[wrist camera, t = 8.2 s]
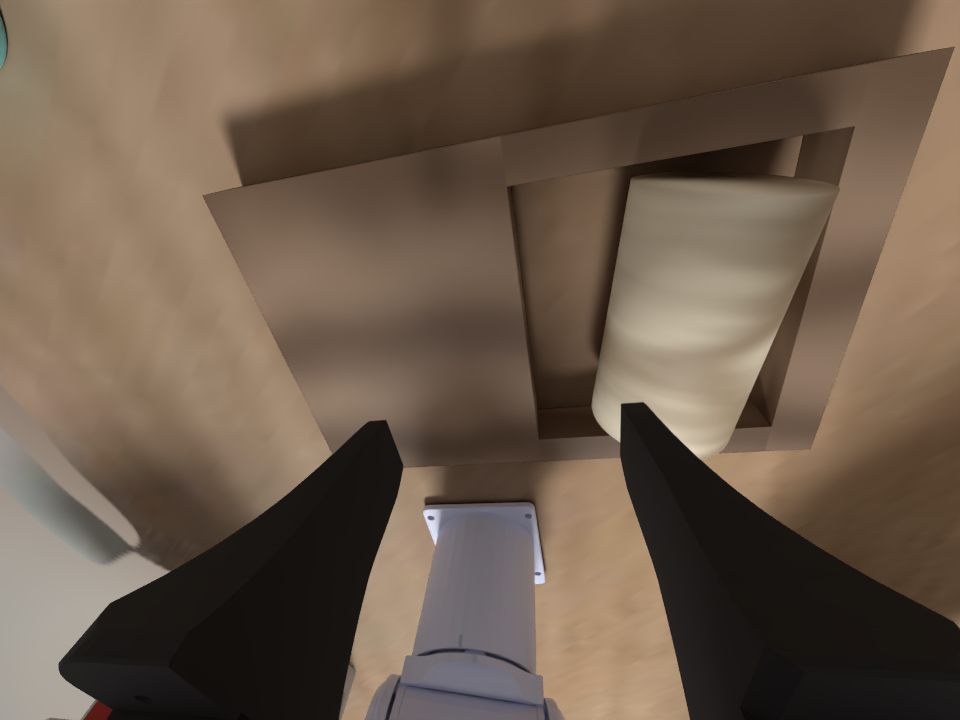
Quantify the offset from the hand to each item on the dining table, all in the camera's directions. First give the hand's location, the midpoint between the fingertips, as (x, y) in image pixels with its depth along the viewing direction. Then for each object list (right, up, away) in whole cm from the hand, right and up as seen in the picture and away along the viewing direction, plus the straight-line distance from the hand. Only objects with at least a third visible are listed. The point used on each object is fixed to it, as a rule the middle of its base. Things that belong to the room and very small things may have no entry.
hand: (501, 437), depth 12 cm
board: (+2, +5, +7) cm, 9 cm away
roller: (+8, +4, +4) cm, 9 cm away
